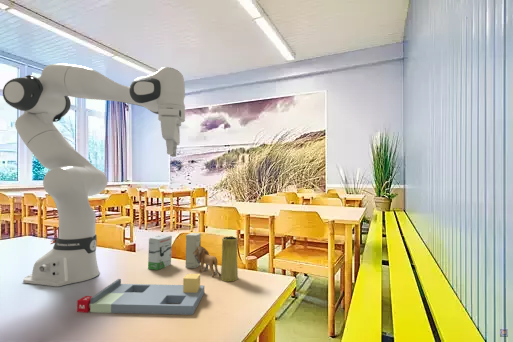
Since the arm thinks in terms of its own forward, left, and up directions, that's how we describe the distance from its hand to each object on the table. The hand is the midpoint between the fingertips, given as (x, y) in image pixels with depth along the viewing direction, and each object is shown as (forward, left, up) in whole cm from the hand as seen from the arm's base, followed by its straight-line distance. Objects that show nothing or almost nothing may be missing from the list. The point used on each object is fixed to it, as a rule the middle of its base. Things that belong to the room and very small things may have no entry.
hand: (171, 155), depth 97 cm
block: (+11, -12, -41) cm, 44 cm away
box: (+4, +17, -43) cm, 46 cm away
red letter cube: (-15, -21, -43) cm, 51 cm away
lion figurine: (+11, +9, -43) cm, 46 cm away
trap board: (0, -16, -43) cm, 46 cm away
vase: (+20, +3, -43) cm, 48 cm away
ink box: (-9, +16, -43) cm, 47 cm away
